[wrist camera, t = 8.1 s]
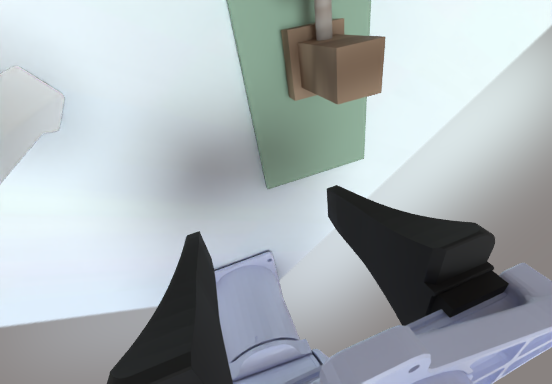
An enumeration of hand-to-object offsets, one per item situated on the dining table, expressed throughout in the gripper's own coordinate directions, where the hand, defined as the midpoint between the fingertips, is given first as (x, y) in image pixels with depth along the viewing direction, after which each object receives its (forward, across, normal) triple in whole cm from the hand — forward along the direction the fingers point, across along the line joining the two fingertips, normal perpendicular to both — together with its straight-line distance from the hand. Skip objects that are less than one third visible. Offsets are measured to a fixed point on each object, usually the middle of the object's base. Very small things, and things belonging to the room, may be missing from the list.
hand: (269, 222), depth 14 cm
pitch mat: (+9, -7, -6) cm, 13 cm away
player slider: (+9, -7, -8) cm, 13 cm away
